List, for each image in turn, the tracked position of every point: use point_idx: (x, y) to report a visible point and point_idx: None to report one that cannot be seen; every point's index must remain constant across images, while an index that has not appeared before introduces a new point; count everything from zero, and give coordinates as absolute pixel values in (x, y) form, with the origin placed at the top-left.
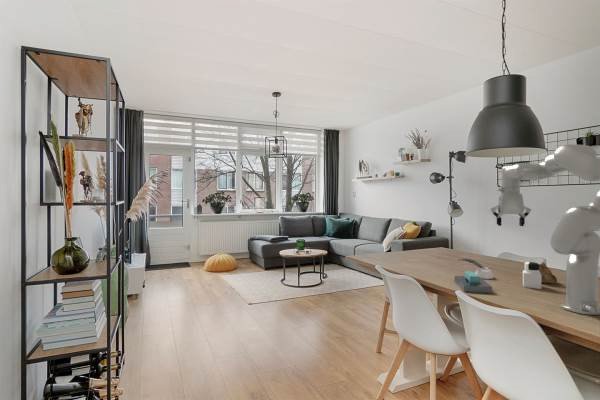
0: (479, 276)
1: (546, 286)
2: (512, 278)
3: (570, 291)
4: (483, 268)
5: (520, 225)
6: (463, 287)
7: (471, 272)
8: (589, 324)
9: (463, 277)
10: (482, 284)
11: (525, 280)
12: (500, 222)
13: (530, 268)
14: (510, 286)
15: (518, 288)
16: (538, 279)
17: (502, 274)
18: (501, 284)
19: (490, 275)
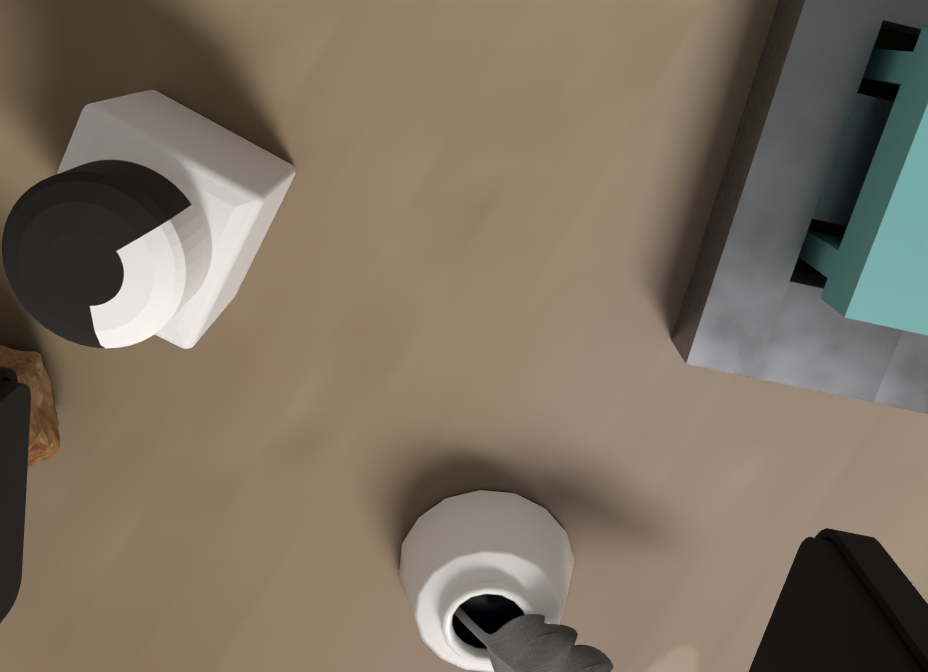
0: (557, 533)
1: None
2: (214, 517)
3: None
4: (484, 632)
5: (22, 503)
6: None
7: (894, 270)
8: None
9: (892, 335)
10: (884, 2)
11: (267, 171)
12: (911, 606)
13: (167, 189)
14: (423, 199)
15: (383, 118)
16: (138, 108)
17: (230, 664)
18: (473, 279)
19: (455, 519)
